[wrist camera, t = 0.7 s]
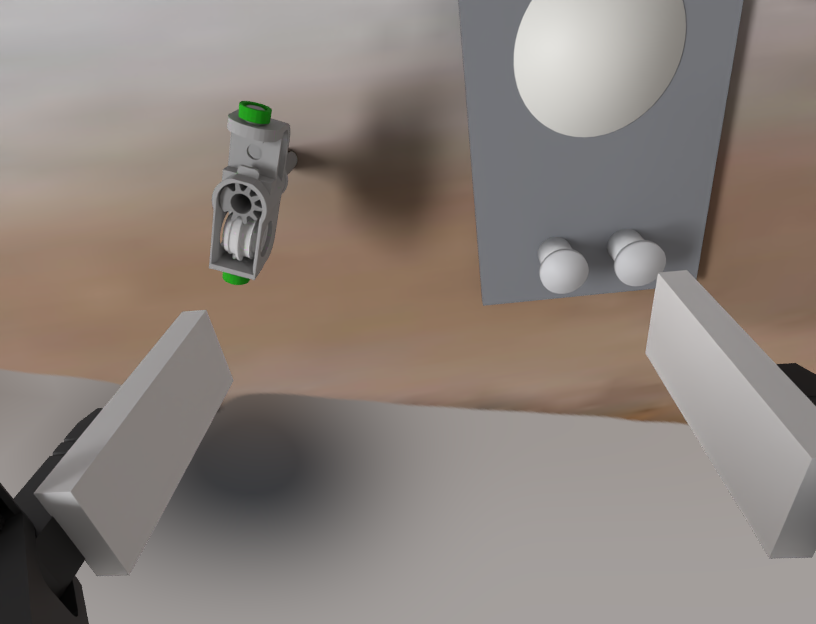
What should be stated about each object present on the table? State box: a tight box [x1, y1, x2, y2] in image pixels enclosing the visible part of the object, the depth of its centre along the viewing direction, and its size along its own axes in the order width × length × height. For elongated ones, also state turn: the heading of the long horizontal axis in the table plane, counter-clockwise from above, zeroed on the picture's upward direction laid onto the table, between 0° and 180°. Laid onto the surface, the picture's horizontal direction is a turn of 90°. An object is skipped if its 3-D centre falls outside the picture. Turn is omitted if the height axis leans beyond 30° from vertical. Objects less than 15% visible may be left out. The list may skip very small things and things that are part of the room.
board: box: [458, 0, 743, 305], centre depth 32 cm, size 22×16×5 cm
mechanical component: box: [209, 101, 297, 285], centre depth 31 cm, size 3×10×10 cm, turn 164°
